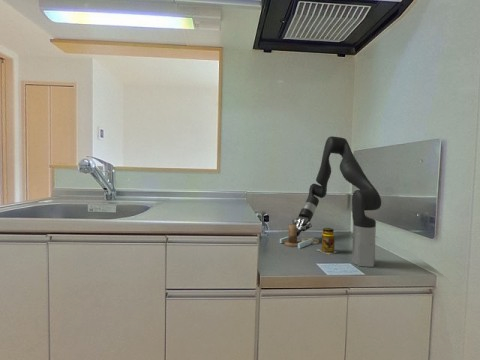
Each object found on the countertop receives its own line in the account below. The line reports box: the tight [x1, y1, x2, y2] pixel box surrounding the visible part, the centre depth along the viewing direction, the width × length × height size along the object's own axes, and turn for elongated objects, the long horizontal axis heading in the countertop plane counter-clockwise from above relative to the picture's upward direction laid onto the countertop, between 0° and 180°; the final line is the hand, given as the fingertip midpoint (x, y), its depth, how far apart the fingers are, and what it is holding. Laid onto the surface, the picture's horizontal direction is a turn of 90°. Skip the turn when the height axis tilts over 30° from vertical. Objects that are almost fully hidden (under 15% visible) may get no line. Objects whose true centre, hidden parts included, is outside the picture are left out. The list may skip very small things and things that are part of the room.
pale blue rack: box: [279, 235, 313, 249], centre depth 155 cm, size 14×13×2 cm
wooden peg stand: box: [283, 223, 300, 248], centre depth 152 cm, size 9×9×11 cm
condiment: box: [316, 227, 338, 255], centre depth 140 cm, size 7×8×12 cm
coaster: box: [301, 237, 320, 245], centre depth 158 cm, size 10×10×1 cm
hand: (295, 235), depth 154 cm, fingers closed
